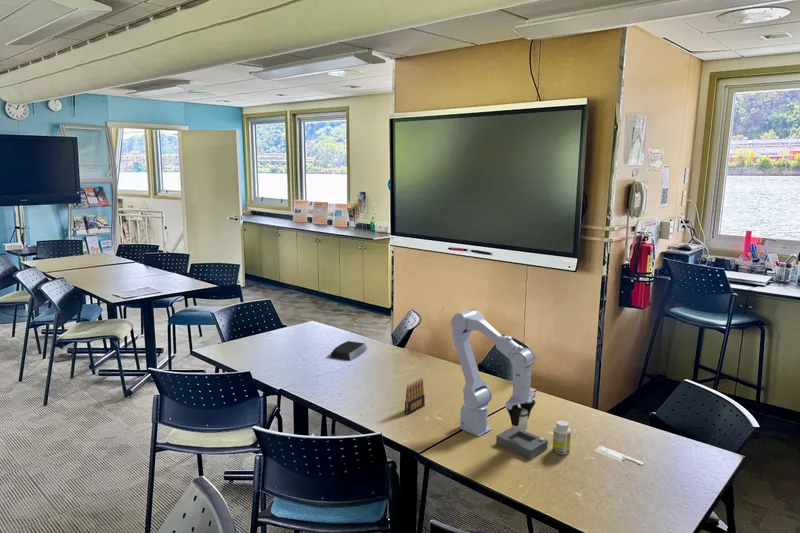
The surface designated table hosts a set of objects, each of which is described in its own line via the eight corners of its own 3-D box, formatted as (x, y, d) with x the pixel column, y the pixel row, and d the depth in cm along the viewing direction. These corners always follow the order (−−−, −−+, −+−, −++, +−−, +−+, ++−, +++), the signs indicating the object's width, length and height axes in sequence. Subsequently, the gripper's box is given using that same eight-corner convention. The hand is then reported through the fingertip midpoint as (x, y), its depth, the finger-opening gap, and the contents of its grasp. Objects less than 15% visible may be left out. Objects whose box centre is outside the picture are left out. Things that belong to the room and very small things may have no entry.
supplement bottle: (565, 446, 188) (567, 418, 186) (572, 454, 183) (574, 426, 181) (549, 447, 188) (551, 419, 186) (556, 455, 182) (557, 427, 180)
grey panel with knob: (496, 443, 190) (496, 433, 189) (513, 434, 197) (513, 424, 196) (530, 459, 180) (531, 449, 179) (547, 448, 187) (547, 438, 186)
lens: (508, 427, 186) (508, 410, 185) (516, 422, 190) (517, 405, 189) (521, 432, 183) (522, 415, 182) (530, 427, 186) (531, 410, 185)
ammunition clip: (421, 404, 220) (421, 376, 218) (424, 406, 219) (425, 377, 217) (404, 413, 212) (404, 384, 210) (408, 415, 211) (408, 385, 209)
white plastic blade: (637, 470, 174) (637, 467, 174) (593, 452, 185) (593, 449, 185) (644, 464, 178) (644, 461, 177) (600, 447, 188) (600, 444, 188)
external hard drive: (368, 350, 286) (368, 342, 285) (351, 362, 269) (351, 354, 268) (346, 346, 291) (346, 339, 290) (328, 358, 273) (328, 350, 273)
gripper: (518, 394, 176) (517, 433, 178) (543, 382, 186) (541, 419, 188) (501, 388, 181) (499, 426, 183) (526, 376, 191) (524, 413, 193)
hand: (519, 422), depth 186 cm, fingers closed on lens, 5 cm apart
